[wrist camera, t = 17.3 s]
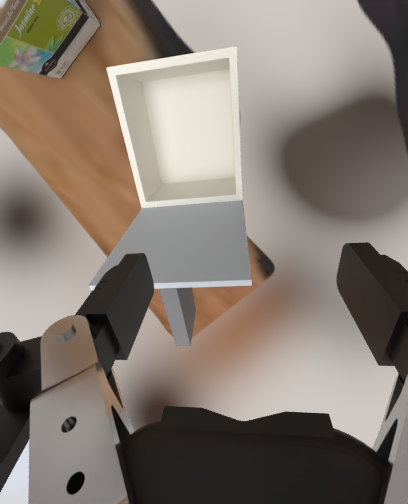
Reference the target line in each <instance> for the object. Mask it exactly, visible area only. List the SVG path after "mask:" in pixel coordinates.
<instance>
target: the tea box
mask: <svg viewBox="0 0 408 504" xmlns="http://www.w3.org/2000/svg"><path fill="white" fill-rule="evenodd" d="M99 26H100V22H99V21H98V19H97V18H96V17H95V15H94V14H93V12H92V11H91V9H90V8H89V6H88V5H87V3H86V2H85V1H84V0H0V66H3V67H7V68H12V69H17V70H21V71H26V72H31V73H36V74H41V75H46V76H50V77H55V78H61V77H62V76H63V75H64V73H65V72H66V71H67V69H68V68H69V66H70V65H71V64H72V62H73V61H74V60H75V58H76V57H77V56H78V54H79V53H80V52H81V50H82V49H83V48H84V46H85V45H86V44H87V42H88V41H89V40H90V38H91V37H92V36H93V35H94V33H95V32H96V30H97V29H98V28H99Z"/></svg>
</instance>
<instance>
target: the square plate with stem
mask: <svg viewBox="0 0 408 504" xmlns="http://www.w3.org/2000/svg"><path fill="white" fill-rule="evenodd" d="M130 253H144V254H145V255H146V257H147V260H148V264H149V267H150V271H151V274H152V278H153V281H154V289H158V288H159V290H160V293H161V297H162V300H163V303H164V307H165V310H166V313H167V317H168V320H169V324H170V327H171V330H172V334H173V337H174V340H175V344H176V346H190V345H191V339H192V332H193V326H194V319H195V312H196V307H195V302H194V297H193V292H192V287H220V286H251V285H252V283H251V271H250V262H249V253H248V244H247V235H246V226H245V217H244V208H243V201H242V200H241V201H229V202H216V203H204V204H191V205H178V206H166V207H153V208H142V209H141V210H140V212H139V213H138V215H137V216H136V217H135V219H134V220H133V222H132V223H131V225H130V226H129V228H128V229H127V231H126V232H125V233H124V235H123V236H122V238H121V239H120V241H119V242H118V244H117V245H116V246H115V248H114V249H113V251H112V252H111V254H110V255H109V257H108V258H107V259H106V261H105V263H104V264H103V265H102V267H101V268H100V270H99V271H98V273H97V274H96V276H95V277H94V278H93V280H92V281H91V283H90V284H89V288H90V290H91V291H93V290H94V288H95V287H96V285H97V284H98V283H99V281H100V280H101V278H102V277H103V275H104V274H105V273H106V272H107V271H108V270H110V269H111V268H112V267H114V266H115V265H118V264H119V263H120V261H121V260H122V258H123V257H124V256H125V254H130Z"/></svg>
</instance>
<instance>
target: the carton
mask: <svg viewBox="0 0 408 504" xmlns="http://www.w3.org/2000/svg"><path fill="white" fill-rule="evenodd" d="M107 72H108V76H109V80H110V84H111V88H112V92H113V96H114V100H115V104H116V108H117V112H118V116H119V120H120V124H121V128H122V132H123V136H124V140H125V144H126V148H127V152H128V156H129V160H130V164H131V168H132V172H133V176H134V180H135V184H136V187H137V191H138V195H139V199H140V203H141V207H142V208H149V207H161V206H174V205H187V204H199V203H212V202H224V201H237V200H243V198H242V171H241V144H240V117H239V93H238V92H239V90H238V64H237V46H235V47H229V48H222V49H217V50H211V51H205V52H198V53H192V54H186V55H180V56H174V57H168V58H162V59H156V60H149V61H143V62H137V63H131V64H125V65H119V66H113V67H107Z"/></svg>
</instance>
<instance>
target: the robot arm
mask: <svg viewBox="0 0 408 504" xmlns="http://www.w3.org/2000/svg"><path fill="white" fill-rule="evenodd" d="M337 286H338V290H339V292H340V294H341V296H342V298H343V300H344V302H345V304H346V305H347V307H348V309H349V311H350V313H351V315H352V317H353V318H354V320H355V322H356V324H357V325H358V328H359V329H360V331H361V333H362V335H363V337H364V339H365V341H366V343H367V345H368V346H369V348H370V350H371V352H372V354H373V356H374V357H375V359H376V361H377V363H378V365H379V366H395V368H396V369H397V371H398V375H397V377H396V379H395V382H394V385H393V389H392V392H391V395H390V399H389V402H388V405H387V409H386V412H385V415H384V418H383V422H382V425H381V428H380V431H379V433H378V436H377V438H376V441H375V443H374V446H373V448H370V447H369V446H367V445H366V444H365V443H363V442H361V441H360V440H358V439H356V438H354V437H353V436H351V435H349V434H346V433H344V432H342V431H340V430H337V429H334V428H333V426H332V423H331V420H330V417H329V414H324V413H302V412H282V413H278V414H274V415H270V416H266V417H261V418H257V419H253V420H249V421H239V420H236V419H233V418H230V417H227V416H224V415H221V414H218V413H215V412H212V411H209V410H207V409H204V408H194V407H173V406H164V410H163V415H162V419H159V420H157V421H154V422H151V423H149V424H147V425H145V426H143V427H141V428H139V429H138V430H136V431H135V432H134V429H133V427H132V424H131V422H130V420H129V417H128V414H127V411H126V408H125V405H124V402H123V399H122V396H121V393H120V389H119V386H118V383H117V380H116V377H115V374H114V371H113V369H112V366H113V364H114V361H115V360H127V358H128V356H129V354H130V351H131V348H132V346H133V344H134V341H135V339H136V336H137V333H138V331H139V329H140V326H141V324H142V321H143V319H144V316H145V313H146V311H147V309H148V306H149V304H150V301H151V299H152V296H153V293H154V281H153V278H152V274H151V271H150V267H149V264H148V260H147V257H146V255H145V254H144V253H130V254H125V256H124V257H123V258H122V260H121V261H120V263H119V264H118V265H115V266H114V267H112V268H111V269H110V270H108V271H107V272H106V273H105V274H104V275H103V277H102V278H101V280H100V281H99V283H98V284H97V285H96V287H95V288H94V290H93V291H92V292H91V293H90V295H89V296H88V298H87V299H86V300H85V302H84V303H83V305H82V306H81V307H80V309H79V310H78V312H77V313H76V314H75V315H73V316H68V317H65V318H63V319H61V320H59V321H57V322H55V323H54V324H53V325H51V326H50V327H49V328H48V329H47V330H46V331H45V333H44V334H43V336H41V337H37V338H33V339H30V340H26V341H22V342H20V341H19V340H18V339H17V337H16V336H15V335H14V334H13V333H11V332H2V333H0V492H1V490H2V488H3V486H4V484H5V483H6V481H7V479H8V477H9V475H10V473H11V472H12V470H13V468H14V466H15V464H16V462H17V461H18V459H19V457H20V455H21V453H22V451H23V450H24V448H25V446H26V444H27V442H28V440H29V439H30V444H29V447H30V448H29V503H28V504H408V271H407V270H406V269H405V268H404V267H403V266H402V265H401V264H400V263H399V262H397V261H395V260H393V259H391V258H389V257H388V256H386V255H380V254H379V253H378V252H377V251H376V250H375V249H374V247H373V246H371V244H370V243H367V242H366V243H346V244H345V245H344V246H343V249H342V254H341V258H340V263H339V268H338V273H337Z"/></svg>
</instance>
